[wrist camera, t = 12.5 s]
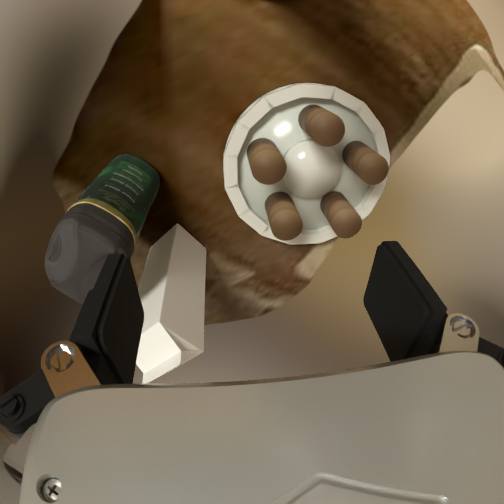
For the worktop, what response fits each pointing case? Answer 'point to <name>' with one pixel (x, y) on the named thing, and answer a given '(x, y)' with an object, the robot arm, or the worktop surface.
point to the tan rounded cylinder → (321, 125)
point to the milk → (172, 303)
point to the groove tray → (301, 158)
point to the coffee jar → (101, 225)
